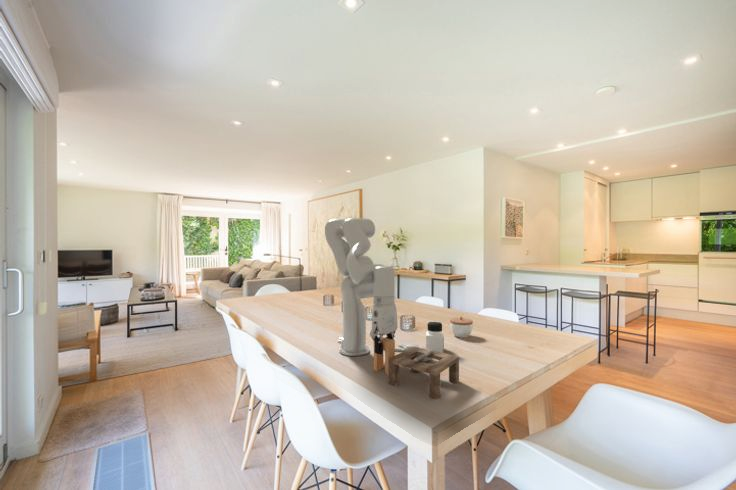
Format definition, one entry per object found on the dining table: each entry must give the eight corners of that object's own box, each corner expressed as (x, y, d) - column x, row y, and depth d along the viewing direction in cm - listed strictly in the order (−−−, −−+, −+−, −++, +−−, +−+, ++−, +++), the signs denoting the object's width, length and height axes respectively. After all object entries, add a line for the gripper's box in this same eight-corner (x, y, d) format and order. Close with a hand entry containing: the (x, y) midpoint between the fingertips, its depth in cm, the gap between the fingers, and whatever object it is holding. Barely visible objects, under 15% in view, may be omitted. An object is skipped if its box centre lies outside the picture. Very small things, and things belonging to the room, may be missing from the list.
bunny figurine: (428, 354, 120) (392, 344, 127) (427, 368, 121) (390, 356, 128) (436, 347, 129) (401, 338, 136) (434, 360, 129) (399, 350, 136)
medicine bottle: (443, 353, 133) (443, 324, 133) (426, 352, 134) (426, 323, 134) (443, 348, 140) (443, 320, 140) (426, 347, 141) (426, 319, 141)
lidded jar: (475, 339, 153) (475, 319, 153) (453, 339, 154) (453, 319, 154) (469, 333, 164) (468, 314, 164) (447, 332, 164) (447, 314, 164)
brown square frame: (388, 383, 104) (388, 355, 104) (414, 368, 117) (414, 343, 117) (436, 399, 94) (436, 367, 94) (458, 380, 106) (458, 353, 106)
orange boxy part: (373, 370, 116) (373, 339, 116) (380, 366, 119) (380, 336, 119) (388, 374, 112) (388, 342, 112) (394, 370, 115) (394, 340, 115)
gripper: (377, 305, 106) (378, 360, 106) (405, 298, 120) (406, 347, 120) (360, 302, 111) (360, 355, 111) (389, 296, 124) (389, 343, 124)
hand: (384, 350), depth 115 cm, fingers open, 5 cm apart
